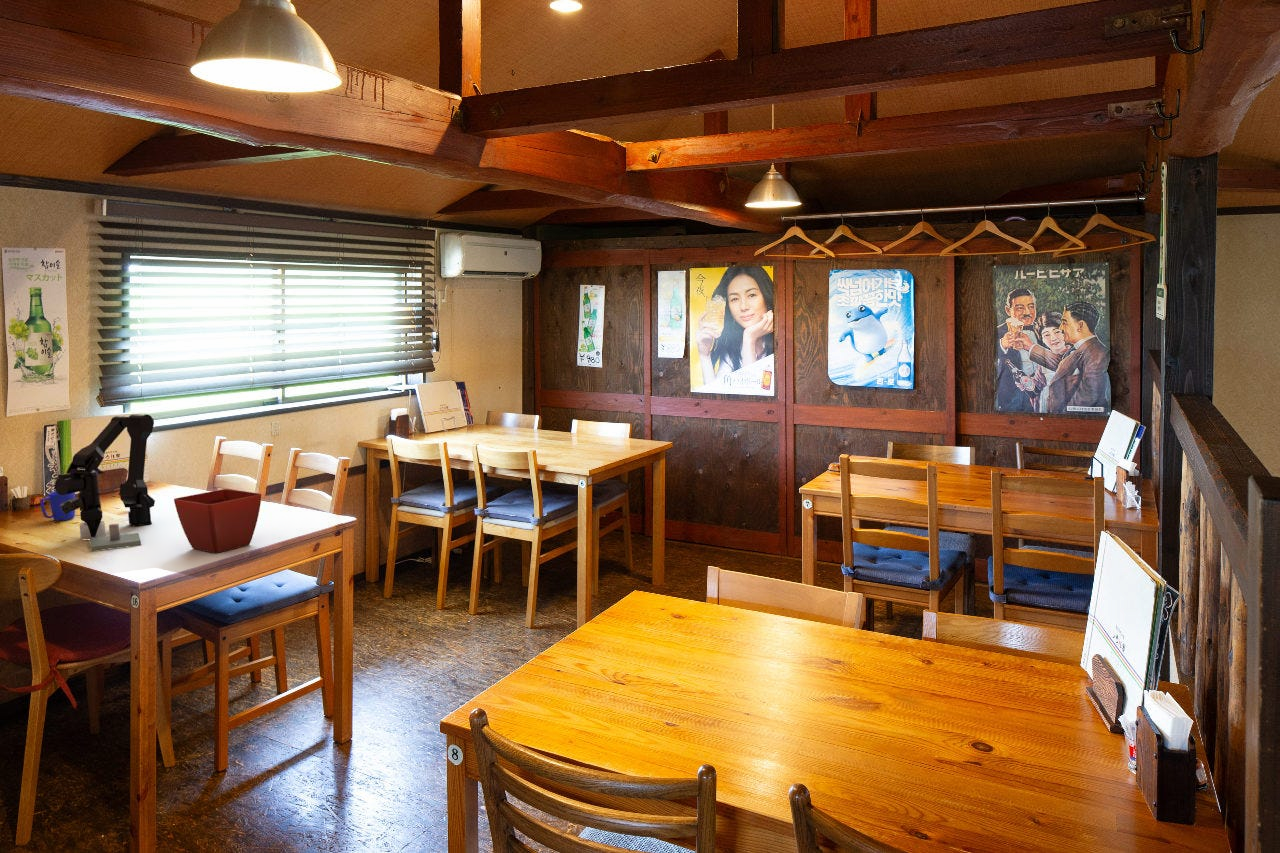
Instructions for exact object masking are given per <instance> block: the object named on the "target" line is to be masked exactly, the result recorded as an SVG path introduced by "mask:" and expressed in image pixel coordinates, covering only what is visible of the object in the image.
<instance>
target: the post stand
mask: <svg viewBox="0 0 1280 853" xmlns="http://www.w3.org/2000/svg"><path fill="white" fill-rule="evenodd" d="M108 529H109V536H106V537H100V538H92V539H90V540H89V542H90V543H89V544H90V551H91V552H95V551H94V550H99V551H103V550H102V549H106V550H109V549H108V548H114V549H118V548H117V547H122V548H127V547H126V546H130V547H135V545H137V546H142V541H141V538H140V535H139V534H140V533H139V532H135V533H128V534H127V533H126V534H120V533H121V532H120V524H119V523H111V524H109V525H108Z"/></svg>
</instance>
